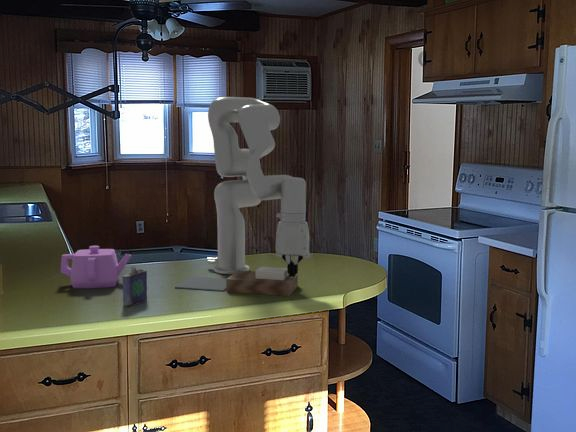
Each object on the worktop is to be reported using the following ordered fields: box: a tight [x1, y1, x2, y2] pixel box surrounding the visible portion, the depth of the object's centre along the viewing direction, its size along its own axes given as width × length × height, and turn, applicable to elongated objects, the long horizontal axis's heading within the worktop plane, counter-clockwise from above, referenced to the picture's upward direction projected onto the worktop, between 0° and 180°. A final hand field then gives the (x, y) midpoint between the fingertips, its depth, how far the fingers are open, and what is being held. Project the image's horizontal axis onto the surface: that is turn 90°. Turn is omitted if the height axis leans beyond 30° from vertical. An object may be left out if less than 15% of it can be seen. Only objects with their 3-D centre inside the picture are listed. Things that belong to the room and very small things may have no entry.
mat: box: [174, 276, 227, 292], centre depth 214 cm, size 16×14×1 cm
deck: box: [225, 270, 299, 297], centre depth 208 cm, size 20×12×4 cm, turn 77°
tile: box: [255, 266, 288, 280], centre depth 207 cm, size 9×6×2 cm, turn 77°
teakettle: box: [60, 245, 132, 289], centre depth 213 cm, size 17×17×12 cm
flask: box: [122, 265, 148, 308], centre depth 192 cm, size 9×3×11 cm, turn 151°
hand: (292, 275), depth 206 cm, fingers closed
